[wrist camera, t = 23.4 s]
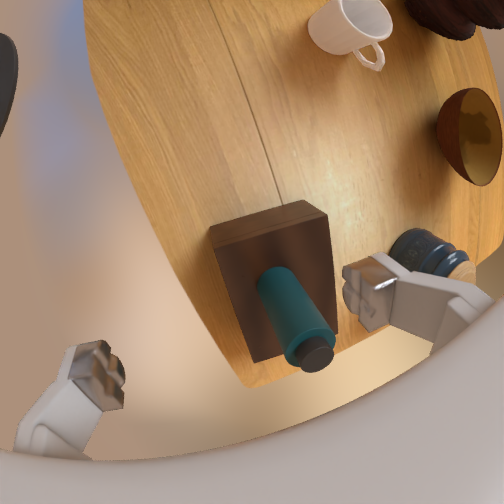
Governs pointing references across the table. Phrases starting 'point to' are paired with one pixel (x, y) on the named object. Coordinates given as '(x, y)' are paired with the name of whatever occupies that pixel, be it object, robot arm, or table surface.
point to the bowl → (471, 135)
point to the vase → (457, 16)
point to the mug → (351, 28)
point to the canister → (432, 256)
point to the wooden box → (275, 255)
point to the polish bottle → (296, 320)
